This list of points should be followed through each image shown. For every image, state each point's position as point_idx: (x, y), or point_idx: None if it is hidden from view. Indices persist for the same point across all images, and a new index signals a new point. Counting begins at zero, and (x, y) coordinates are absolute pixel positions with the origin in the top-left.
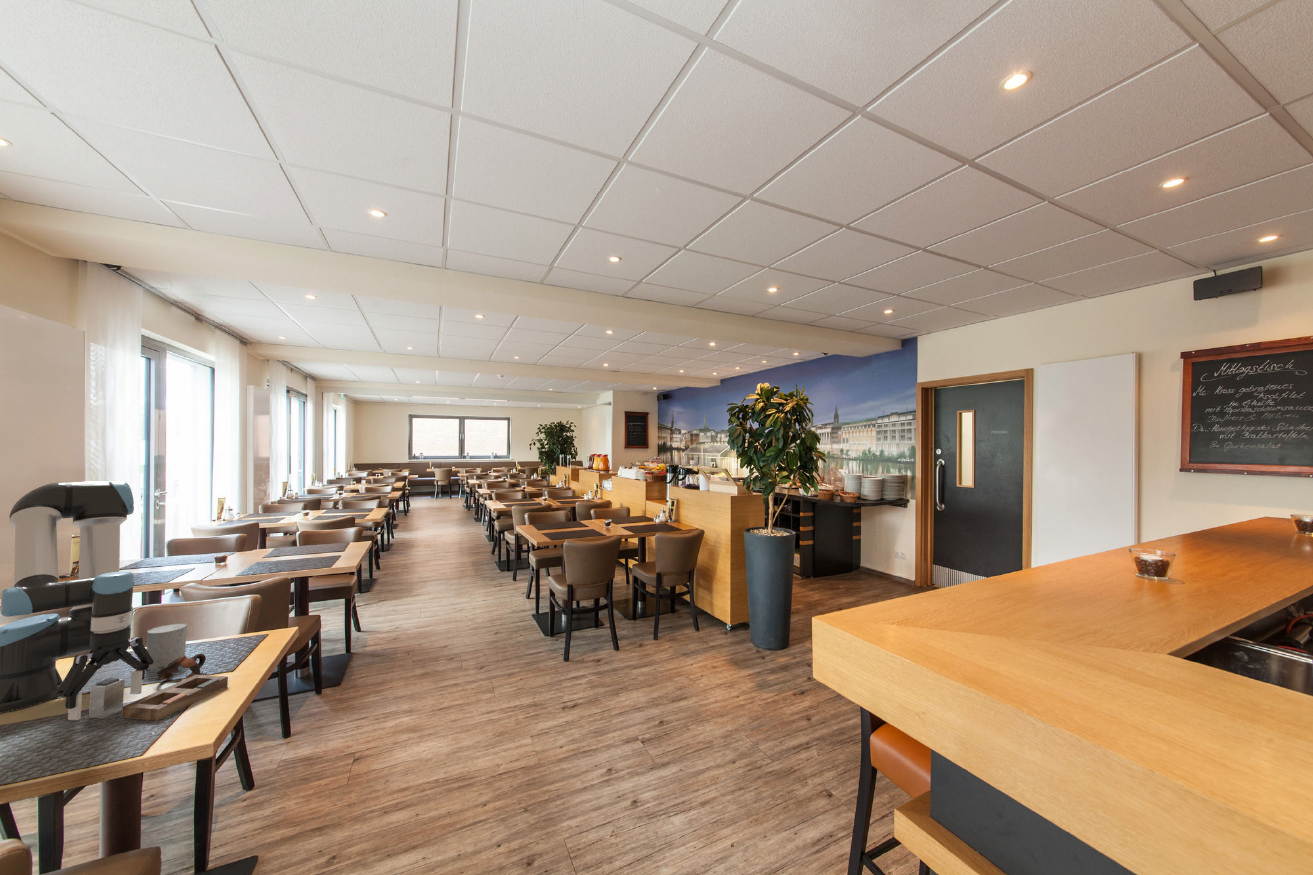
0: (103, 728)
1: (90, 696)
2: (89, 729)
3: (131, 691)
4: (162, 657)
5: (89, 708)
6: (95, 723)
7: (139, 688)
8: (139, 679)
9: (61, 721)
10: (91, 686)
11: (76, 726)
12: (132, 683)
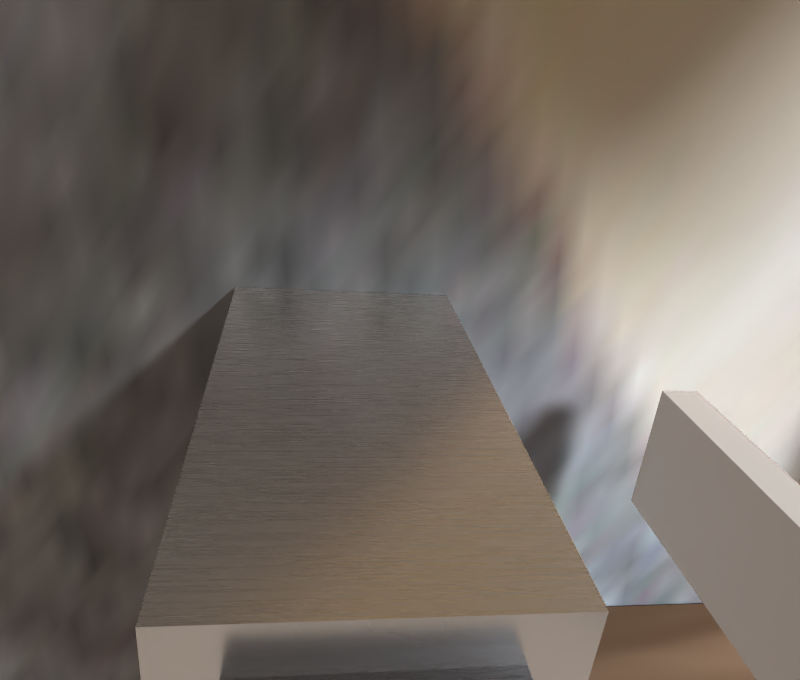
0: (78, 656)
1: (188, 452)
2: (28, 568)
3: (675, 426)
4: None
5: (221, 336)
6: (134, 504)
7: (675, 553)
8: (752, 671)
9: (75, 25)
10: (139, 635)
11: (34, 383)
12: (745, 510)
